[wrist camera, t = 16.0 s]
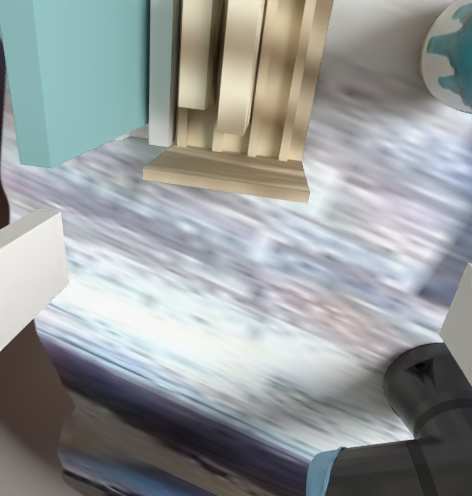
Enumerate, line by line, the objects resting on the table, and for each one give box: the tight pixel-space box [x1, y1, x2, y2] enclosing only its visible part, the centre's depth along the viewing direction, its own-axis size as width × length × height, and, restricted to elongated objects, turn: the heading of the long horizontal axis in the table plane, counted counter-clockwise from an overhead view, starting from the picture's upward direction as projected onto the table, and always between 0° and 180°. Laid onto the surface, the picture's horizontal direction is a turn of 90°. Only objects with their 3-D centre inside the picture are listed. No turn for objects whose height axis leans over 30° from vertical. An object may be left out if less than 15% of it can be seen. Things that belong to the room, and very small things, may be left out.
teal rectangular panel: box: [0, 0, 151, 168], centre depth 30 cm, size 16×2×22 cm, turn 173°
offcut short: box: [178, 0, 224, 110], centre depth 36 cm, size 10×2×7 cm, turn 173°
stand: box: [113, 0, 181, 147], centre depth 39 cm, size 20×8×4 cm, turn 173°
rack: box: [143, 0, 333, 203], centre depth 34 cm, size 22×15×14 cm
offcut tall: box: [216, 0, 265, 136], centre depth 35 cm, size 13×2×9 cm, turn 173°
